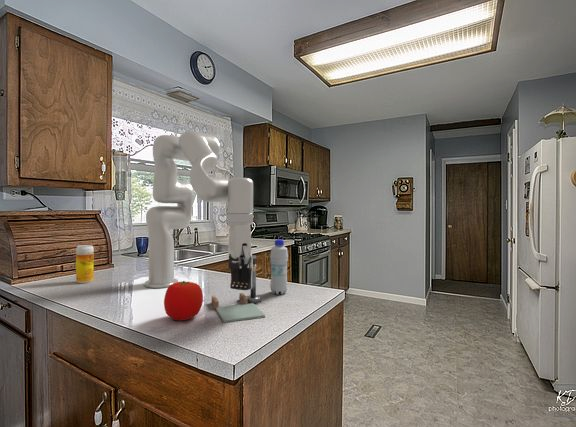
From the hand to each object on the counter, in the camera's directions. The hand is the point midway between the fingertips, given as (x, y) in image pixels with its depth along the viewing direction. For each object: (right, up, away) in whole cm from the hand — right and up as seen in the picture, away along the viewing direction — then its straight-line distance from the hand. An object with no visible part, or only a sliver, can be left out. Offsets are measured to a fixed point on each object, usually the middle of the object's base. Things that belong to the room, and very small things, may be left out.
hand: (240, 278), depth 94 cm
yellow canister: (-69, -9, +36) cm, 78 cm away
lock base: (+3, -10, +12) cm, 16 cm away
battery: (0, -3, 0) cm, 3 cm away
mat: (0, -10, 0) cm, 10 cm away
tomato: (-15, -11, -5) cm, 19 cm away
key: (+3, -9, +9) cm, 13 cm away
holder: (-5, -10, +9) cm, 14 cm away
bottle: (+11, -10, +23) cm, 27 cm away
